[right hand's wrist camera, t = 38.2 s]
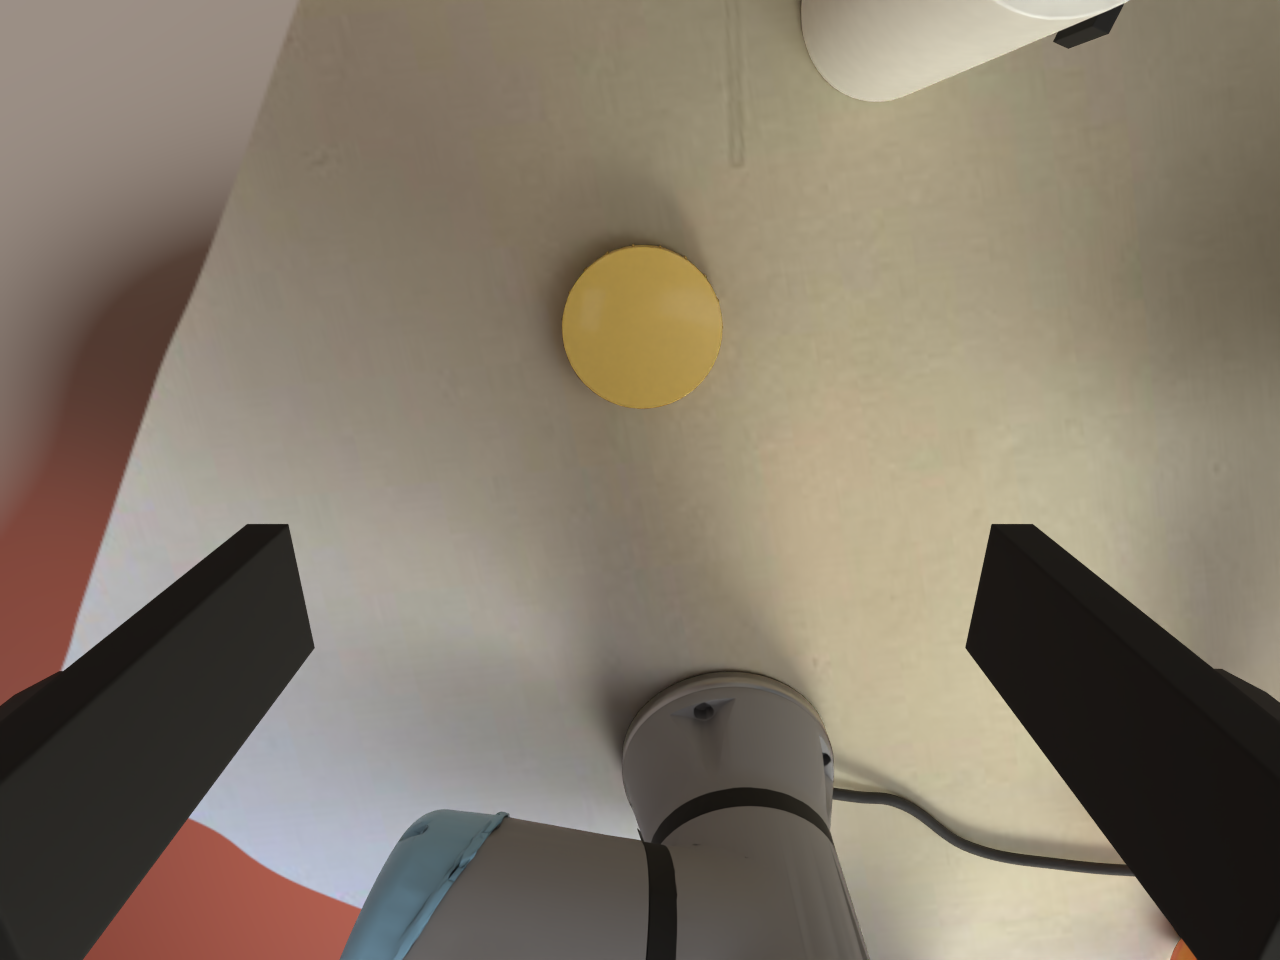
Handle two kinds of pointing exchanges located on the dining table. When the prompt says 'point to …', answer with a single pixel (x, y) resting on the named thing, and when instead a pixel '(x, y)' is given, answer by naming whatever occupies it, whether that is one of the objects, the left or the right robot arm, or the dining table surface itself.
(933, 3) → the jar
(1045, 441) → the dining table surface
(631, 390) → the lid
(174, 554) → the dining table surface
